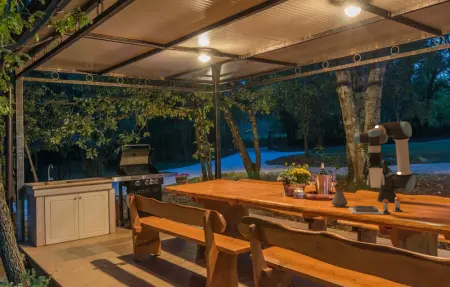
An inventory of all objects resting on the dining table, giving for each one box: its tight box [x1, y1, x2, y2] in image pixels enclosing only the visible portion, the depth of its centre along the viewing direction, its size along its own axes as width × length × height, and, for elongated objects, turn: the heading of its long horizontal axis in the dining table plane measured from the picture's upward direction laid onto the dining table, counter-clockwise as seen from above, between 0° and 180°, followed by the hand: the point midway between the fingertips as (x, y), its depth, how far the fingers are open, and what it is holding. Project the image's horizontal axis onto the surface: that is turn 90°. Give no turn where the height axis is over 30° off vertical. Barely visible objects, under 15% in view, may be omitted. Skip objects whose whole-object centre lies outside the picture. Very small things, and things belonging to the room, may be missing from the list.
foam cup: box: [367, 167, 384, 189], centre depth 258 cm, size 10×9×13 cm
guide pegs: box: [382, 196, 403, 216], centre depth 258 cm, size 6×20×10 cm, turn 124°
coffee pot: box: [331, 184, 351, 208], centre depth 291 cm, size 21×12×15 cm, turn 134°
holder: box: [347, 205, 385, 215], centre depth 263 cm, size 20×20×3 cm
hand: (375, 184), depth 258 cm, fingers closed on foam cup, 9 cm apart
